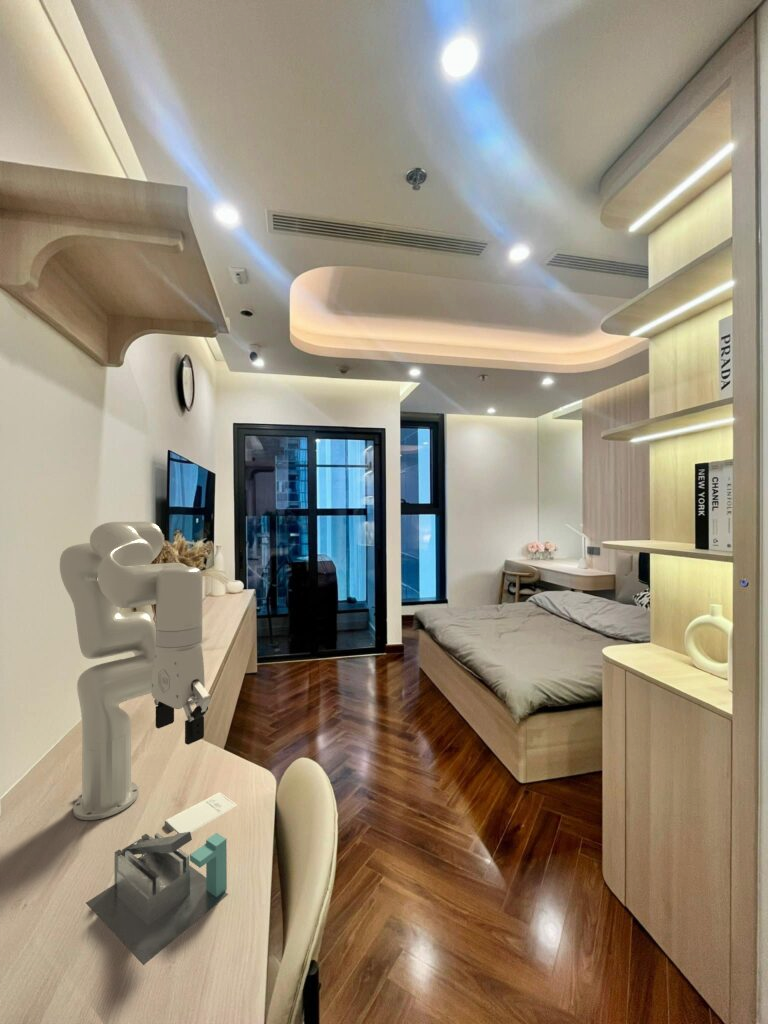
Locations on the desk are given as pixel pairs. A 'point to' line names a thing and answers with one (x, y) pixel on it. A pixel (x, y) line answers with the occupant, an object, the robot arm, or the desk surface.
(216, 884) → the clip
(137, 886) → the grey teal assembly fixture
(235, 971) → the desk surface
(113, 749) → the robot arm
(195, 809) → the external hard drive
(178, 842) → the dark grey flat bar
